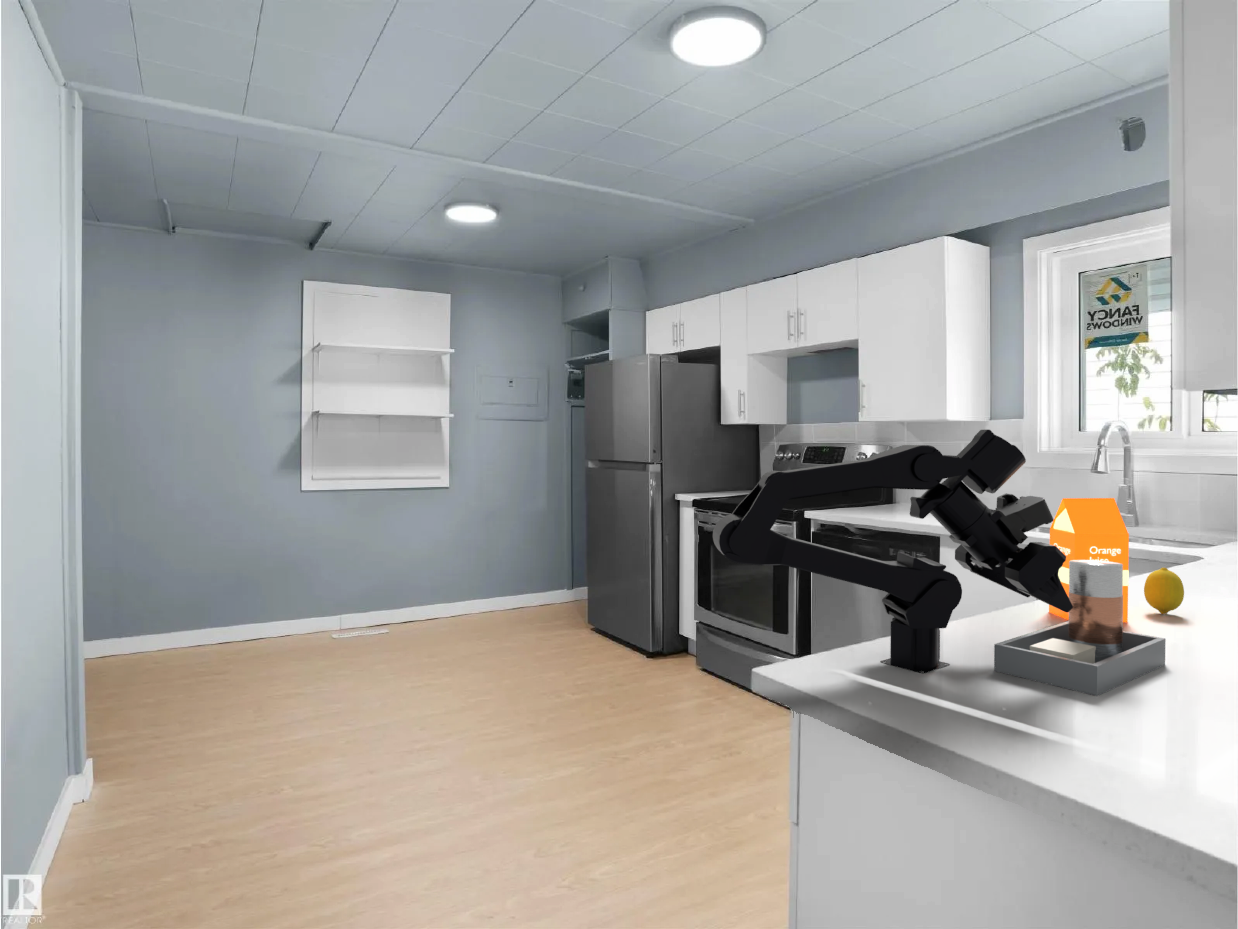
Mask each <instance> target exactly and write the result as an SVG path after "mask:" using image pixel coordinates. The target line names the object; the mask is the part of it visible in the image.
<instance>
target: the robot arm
mask: <svg viewBox="0 0 1238 929" xmlns="http://www.w3.org/2000/svg"><path fill="white" fill-rule="evenodd" d="M1026 461H1027V459H1026V457H1025V455H1024V454H1023V453H1022V451H1021V450H1020V449H1019V448H1018V447H1017V446H1016V445H1015V444H1012V443H1010V442H1009V441H1008V440H1006V439H1004V438H1002V437H1000V436H999V435H996V434H995V433H994V432H993V431H992V430H991V429H979V431H978V432H976V434H975V435H974V436H973V437H972V440H970V442H969V443H968V444H967V445H966V446H965V447H964V448H963V449H962V450H961V451H960V452H959V453H958V454H957V455H951V454H950V455H947V454H942V452H941V451H940V450H939V449H937V447H935V446H932V445H927V444H926V445H925V444H901V445H899V446H896V447H893V448H890V449H887V450H884V451H880V452H879V453H876V454H874V455H872V456H869V457H866V458H863V459H859V460H852V461H851V460H850V461H846V462H845V461H844V462H837V463H831V464H824V465H816V466H809V467H801V468H795V469H788V470H787V469H786V470H782V471H780V470H769V471H767V472H765V473H764V474H763V475H761V478H759V481H758V482H757V483H756V485H755V486H754V488H753V489H752V490H751V491H750V492H749V493H748V494H747V495H746V496H745V497H744V498H743V499H742V500H741V502H740V503H739V504H737V505H736V508H735V509H734V510H733V512H732V513H731V514H726V515H725V516H723V517H721V518H720V519H719V520H718V521H717V522H716V524H715V526H714V528H713V530H712V541H713V543H714V546H715V548H716V549H717V550H718V551H719V552H720V554H722V555H723V556H724V557H725V558H726V559H727V560H728V561H730V562H733V563H734V564H740V565H751V566H785V567H788V568H789V567H790V568H793V569H797V570H800V571H805V572H808V573H813V574H817V575H820V576H824V577H827V578H831V579H832V578H833V579H836V580H838V581H839V580H840V581H843V582H848V583H852V584H856V585H858V586H863V587H867V588H872V589H874V590H878V591H881V592H885V593H887V594H886V595H885V596H884V597H882V600H881V603H882V605H883V608H884V611H885V613H886V614H887V615H890V616H892V620H891V621H890V646H889V647H890V651H889V652H890V655H889V656H890V657H889V658H886V659H883V660H880V663H882V664H885V665H889V666H893V667H896V668H899V669H900V668H901V669H904V670H908V671H912V672H914V673H919V674H926V673H930V672H934V671H937V670H939V669H943V668H945V667H946V668H947V667H949V666H951V664H950V663H948V662H944V661H940V657H941V656H940V655H941V654H940V652H941V641H940V640H941V630H940V629H947V628H948V624H949V621H950V620H951V617H952V614H953V612H954V610H955V609H956V608H957V607H958V606H959V604H960V602H961V600H962V595H963V589H962V583H961V582H960V581H959V578H958V577H957V576H956V575H955V574H954V573H952V572H950V571H947V570H946V568H947V566H946V565H945V564H943V563H939V562H937V561H934V560H933V559H930V558H927V557H914V556H912V555H909V554H907V553H904V552H901V551H898V552H897V556H896V560H880V559H876V558H872V557H868V556H864V555H861V554H857V553H853V552H849V551H846V550H842V549H838V548H833V547H831V546H830V547H829V546H825V545H822V544H818V543H813V542H810V541H806V540H802V539H800V538H795V537H791V536H788V535H784V534H782V533H780V532H778V531H775V530H773V529H772V528H773V526H774V525H775V523H776V521H777V519H778V517H779V516H780V514H781V512H782V511H783V508H784V507H785V505H787V503H788V502H789V501H790V500H797V499H801V498H802V499H804V498H811V497H816V496H822V495H830V494H831V495H832V494H837V493H845V492H846V493H847V492H853V491H858V490H865V489H873V488H875V489H876V488H877V489H897V490H917V491H919V490H920V491H921V490H922V491H924V490H925V492H924V493H923V494H921V496H911V497H910V498H909V499H910V500H909V501H910V508H909V516H910V517H913V518H916V519H917V518H918V519H921V520H923V519H925V518H926V517H927V516H928V515H930V514H931V516H932V517H933V518H934V519H935V520H936V521H937V522H938V523H939V524H940V525H941V526H942V527H943V528H944V529H945V530H946V531H948V533H949V534H950V535H949V536H948V537H949V540H951V541H952V542H953V543H956V544H958V547H957V548H955V549H954V560H956V562H957V563H958V564H959V565H960V566H961V567H962V568H963V569H965V570H968V571H970V572H971V573H972V574H975V575H977V576H979V577H982V578H984V579H986V580H988V581H990V582H992V583H995V584H997V585H1000V586H1002V587H1004V588H1006V589H1008V590H1010V591H1012V592H1014V593H1017V594H1018V595H1021V596H1024V597H1026V598H1031V597H1033V598H1034V599H1037V600H1039V601H1041V602H1043V603H1045V604H1047V605H1048V606H1049V605H1051V606H1053V607H1055V608H1057V609H1060V610H1062V611H1064V612H1066V613H1067V612H1069V611H1070V610H1071V609H1072V608H1073V606H1072V604H1071V602H1070V600H1069V598H1068V596H1067V594H1066V592H1065V589H1064V587H1063V585H1062V583H1061V581H1060V579H1059V576H1058V572H1059V569H1060V568H1061V567H1062V565H1063V563H1064V562H1065V561H1066V556H1065V555H1064V554H1063V553H1062V552H1061V551H1060V550H1059V549H1058V548H1057V547H1056V546H1054V545H1050V543H1045V542H1041V541H1040V542H1039V541H1038V542H1037V541H1032V542H1031V541H1030V542H1029V543H1028V544H1027V545H1025V547H1024V548H1021V547H1019V546H1018V545H1020V544H1023V543H1024V541H1026V540H1027V539H1028V538H1029V537H1028V535H1027V534H1025V533H1028V532H1030V531H1032V530H1034V529H1037V528H1038V527H1040V526H1043V525H1049V524H1050V523H1051V524H1052V523H1053V520H1054V517H1053V515H1052V512H1051V510H1050V508H1049V505H1048V503H1047V501H1046V500H1045V499H1046V498H1045V497H1041V496H1033V495H1026V496H1023V495H1022V496H1019V498H1018V497H1017V496H1016V495H1015V494H1012V493H1004V494H1002V495H999V496H998V497H997V498H996V507H995V509H992V508H989V507H988V506H987V505H986V504H985V503H984V502H983V501H982V500H981V499H980V498H979V497H978V496H977V495H976V494H975V493H977V494H980V495H983V493H985V492H986V493H990V494H995V493H996V492H997V491H999V489H1001V488H1002V487H1003V485H1005V484H1006V482H1007V481H1008V480H1009V479H1011V478H1012V477H1013V475H1015V473H1017V472H1018V471H1019V469H1021V468H1022V467H1023V466H1024V464H1026ZM943 479H944V480H943ZM974 492H975V493H974Z"/></svg>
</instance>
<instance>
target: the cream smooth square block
mask: <svg viewBox="0 0 1238 929" xmlns="http://www.w3.org/2000/svg"><path fill="white" fill-rule="evenodd" d="M1030 650H1031V651H1036V652H1040V653H1045V654H1050V655H1054V656H1059V657H1064V658H1068V659H1073V660H1078V661H1082V662H1087V663H1091V664H1094V663H1095V650H1096V647H1095V646H1090V645H1085V644H1080V643H1075V642H1070V641H1065V640H1060V639H1055V638H1052V639H1049V640H1046V641H1043V642H1040V643H1037V644H1034V645H1031V646H1030Z"/></svg>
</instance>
